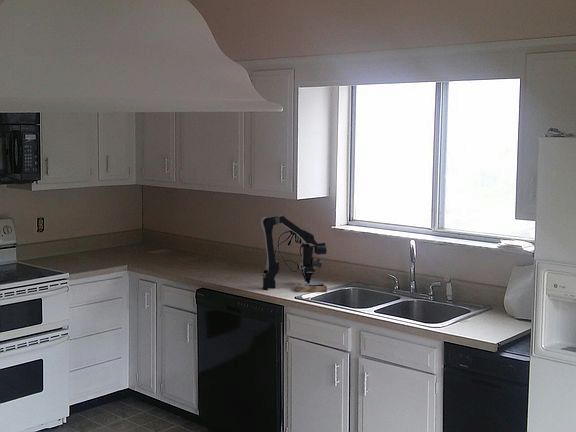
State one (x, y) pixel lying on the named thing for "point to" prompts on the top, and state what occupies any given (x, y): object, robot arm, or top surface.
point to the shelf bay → (311, 288)
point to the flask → (314, 284)
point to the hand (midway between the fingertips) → (307, 282)
